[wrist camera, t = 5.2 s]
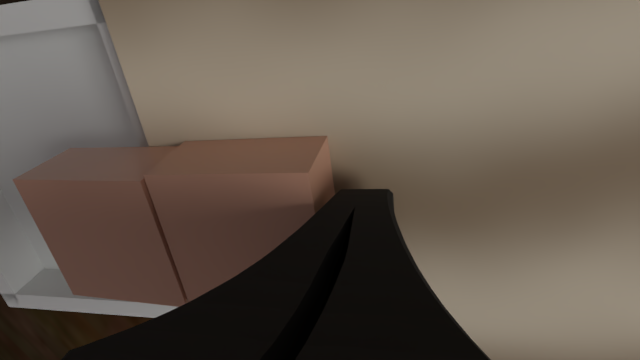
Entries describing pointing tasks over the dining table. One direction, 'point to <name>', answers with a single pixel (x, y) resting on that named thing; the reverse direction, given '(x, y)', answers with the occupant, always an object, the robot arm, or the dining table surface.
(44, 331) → the dining table surface
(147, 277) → the tile
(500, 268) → the low rectangular platform
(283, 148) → the tile
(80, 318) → the dining table surface
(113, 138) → the box
